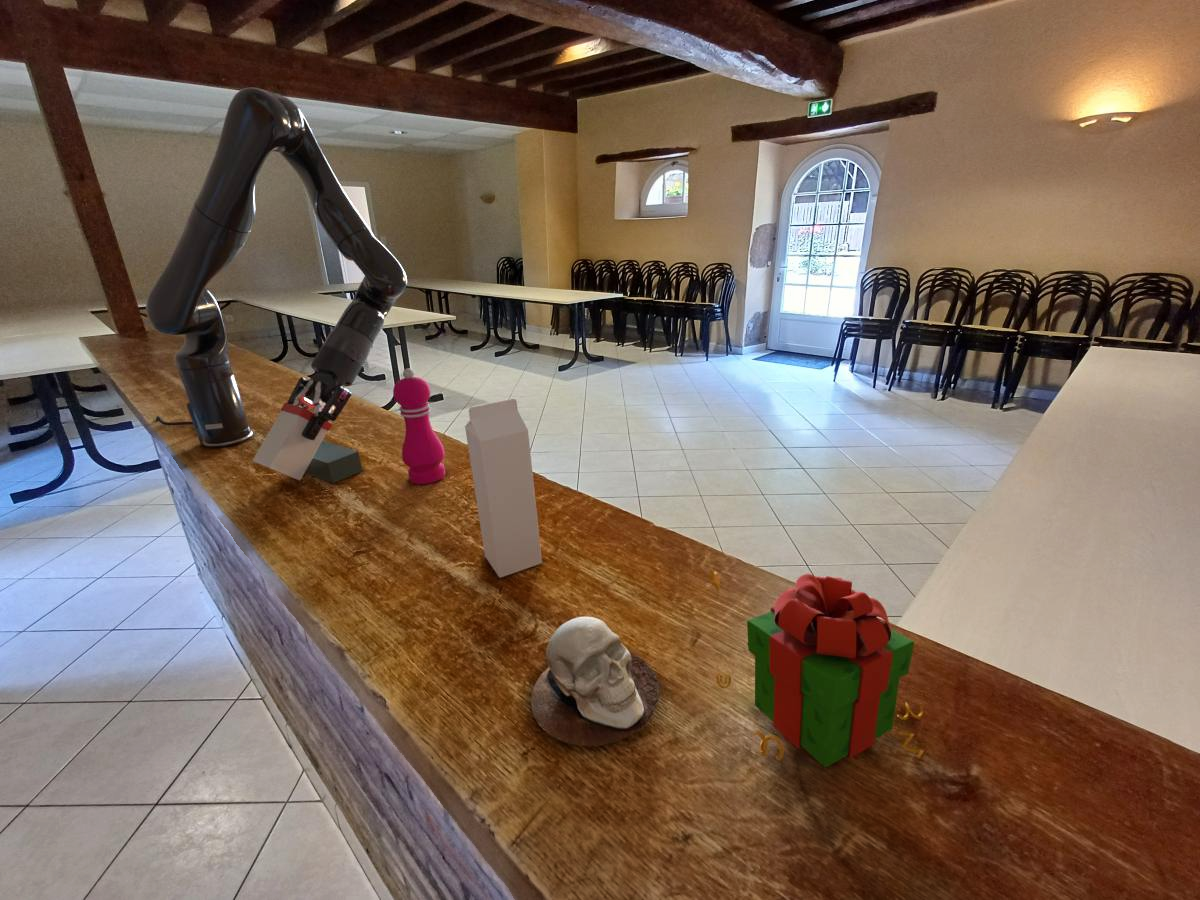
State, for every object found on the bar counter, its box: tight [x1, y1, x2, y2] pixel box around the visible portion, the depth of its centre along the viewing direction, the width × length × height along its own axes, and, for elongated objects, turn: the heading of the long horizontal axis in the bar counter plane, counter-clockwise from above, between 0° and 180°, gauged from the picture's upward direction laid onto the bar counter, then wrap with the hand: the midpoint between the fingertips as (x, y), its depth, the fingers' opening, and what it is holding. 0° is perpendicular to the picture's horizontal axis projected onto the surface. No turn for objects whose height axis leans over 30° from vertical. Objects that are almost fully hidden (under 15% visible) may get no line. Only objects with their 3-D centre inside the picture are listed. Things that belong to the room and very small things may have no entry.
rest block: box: [304, 439, 364, 484], centre depth 104 cm, size 6×12×4 cm, turn 55°
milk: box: [464, 398, 543, 578], centre depth 69 cm, size 6×6×22 cm
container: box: [251, 402, 334, 481], centre depth 98 cm, size 12×6×12 cm, turn 145°
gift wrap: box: [709, 570, 925, 768], centre depth 45 cm, size 20×19×14 cm
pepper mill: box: [392, 368, 446, 485], centre depth 96 cm, size 7×7×20 cm
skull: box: [530, 616, 660, 747], centre depth 51 cm, size 12×10×10 cm
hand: (297, 434), depth 98 cm, fingers closed on container, 6 cm apart
